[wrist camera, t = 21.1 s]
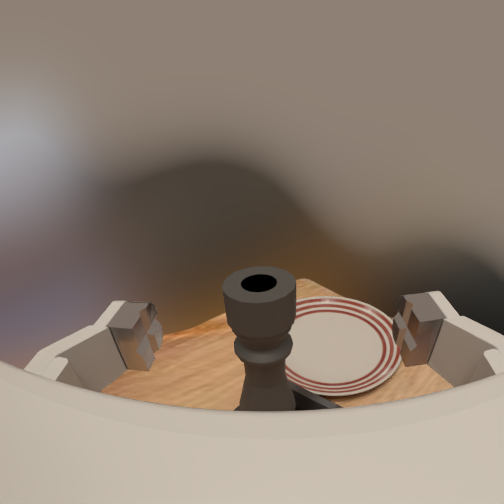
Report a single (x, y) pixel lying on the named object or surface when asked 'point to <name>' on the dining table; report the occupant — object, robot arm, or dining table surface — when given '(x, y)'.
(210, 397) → the dining table surface
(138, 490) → the robot arm
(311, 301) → the dinner plate
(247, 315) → the candle holder
